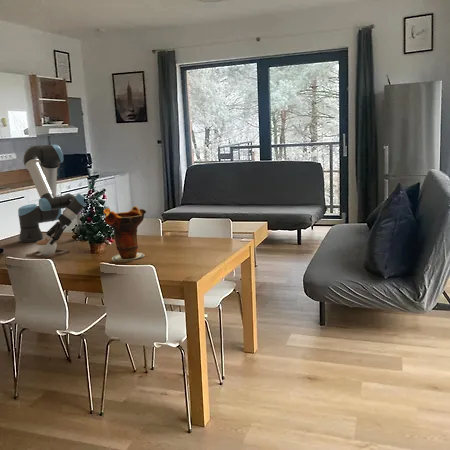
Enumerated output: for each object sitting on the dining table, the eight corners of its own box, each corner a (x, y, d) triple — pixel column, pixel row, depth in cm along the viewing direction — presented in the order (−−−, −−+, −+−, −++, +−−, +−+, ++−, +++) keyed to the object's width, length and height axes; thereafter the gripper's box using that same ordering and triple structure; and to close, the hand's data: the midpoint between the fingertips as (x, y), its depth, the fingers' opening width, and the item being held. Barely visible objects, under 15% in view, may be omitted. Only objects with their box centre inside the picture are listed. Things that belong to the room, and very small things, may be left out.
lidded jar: (41, 252, 290) (39, 237, 288) (59, 251, 291) (57, 235, 289) (35, 257, 280) (33, 241, 278) (55, 255, 280) (53, 239, 279)
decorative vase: (158, 254, 269) (151, 204, 263) (121, 266, 254) (113, 213, 248) (137, 249, 284) (131, 201, 278) (101, 259, 270) (93, 209, 264)
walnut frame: (48, 249, 297) (48, 247, 296) (69, 252, 287) (69, 250, 287) (26, 256, 283) (25, 254, 283) (47, 259, 274) (47, 257, 274)
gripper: (78, 224, 279) (53, 254, 275) (66, 218, 300) (44, 246, 296) (67, 216, 276) (42, 246, 271) (56, 211, 297) (33, 239, 292)
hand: (43, 246), depth 283 cm, fingers open, 13 cm apart
